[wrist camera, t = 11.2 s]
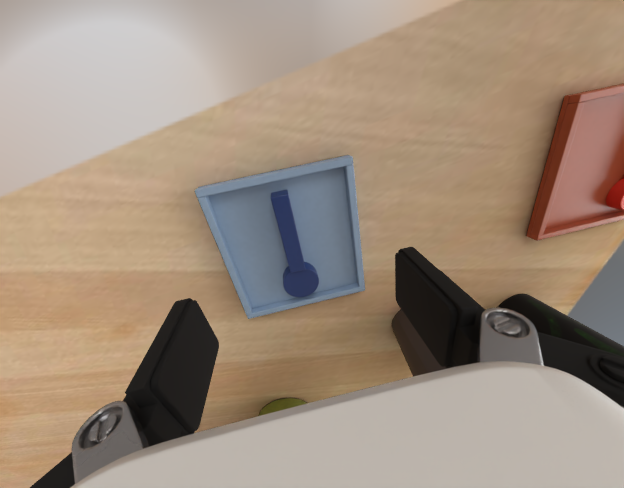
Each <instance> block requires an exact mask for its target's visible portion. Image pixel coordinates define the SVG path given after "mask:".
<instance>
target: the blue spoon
mask: <svg viewBox="0 0 624 488" xmlns="http://www.w3.org/2000/svg"><path fill="white" fill-rule="evenodd" d="M271 202H272V206H273V209H274V213H275V217H276V221H277V224H278V228H279V232H280V235H281V239H282V243H283V247H284V250H285V254H286V258H287V261H288V265H289V266H288V267H287V268H286V269H285V271H284V273H283V286H284V289H285V291H286V292H287V293H288V294H289V295H291V296H294V297H306V296H309V295H311V294H312V293H313V292H314V291H315V290H316V289H317V287H318V285H319V277H318V274H317V271H316V269H315V267H314V266H313V265H311V264H310V263H307V262H304V259H303V255H302V250H301V246H300V242H299V237H298V233H297V229H296V224H295V220H294V216H293V211H292V207H291V203H290V198H289V194H288V190H282V191H277V192H272V193H271Z"/></svg>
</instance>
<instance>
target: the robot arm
mask: <svg viewBox="0 0 624 488" xmlns="http://www.w3.org/2000/svg"><path fill="white" fill-rule="evenodd" d="M395 276H396V301H397V303H398V305H399V306H400V308H401V309H402V311H403V312H404V314H405V315H406V317H407V318H408V319H409V321H410V322H411V324H412V325H413V327H414V328H415V330H416V331H417V333H418V334H419V336H420V337H421V338H422V340H423V341H424V343H425V344H426V346H427V347H428V349H429V350H430V352H431V353H432V355H433V356H434V357H435V359H436V360H437V362H438V363H439V364H440V366H442V367H444V366H445V367H446V369H443V370H439V371H435V372H431V373H426V374H422V375H418V376H414V377H410V378H406V379H402V380H398V381H394V382H390V383H386V384H382V385H378V386H374V387H370V388H366V389H362V390H358V391H354V392H350V393H346V394H342V395H338V396H334V397H331V398H327V399H323V400H319V401H315V402H311V403H307V404H303V405H300V406H296V407H292V408H288V409H284V410H280V411H276V412H273V413H269V414H265V415H261V416H257V417H254V418H250V419H246V420H242V421H238V422H235V423H231V424H227V425H223V426H220V427H216V428H212V429H208V430H204V431H201V432H197V433H194V432H195V431H196V430H197V429H198V428H199V425H200V421H201V417H202V413H203V409H204V405H205V401H206V397H207V393H208V389H209V385H210V381H211V377H212V373H213V369H214V365H215V361H216V357H217V352H218V348H219V342H218V339H217V337H216V336H215V334H214V332H213V330H212V328H211V327H210V325H209V323H208V321H207V319H206V317H205V316H204V314H203V312H202V310H201V308H200V307H199V305H198V303H197V301H195V300H194V301H193V300H192V299H190V298H188V299H184V300H180V301H176V302H175V303H174V305H173V307H172V309H171V310H170V312H169V314H168V316H167V318H166V319H165V321H164V323H163V325H162V327H161V328H160V330H159V332H158V334H157V336H156V337H155V339H154V341H153V343H152V345H151V346H150V348H149V350H148V352H147V354H146V355H145V357H144V359H143V361H142V363H141V365H140V366H139V368H138V370H137V372H136V374H135V375H134V377H133V379H132V381H131V383H130V384H129V386H128V388H127V390H126V392H125V393H126V394H127V395H126V396H125V398H124V400H123V401H115V402H112V403H110V404H107V405H105V406H104V407H102V408H101V409H99V410H98V411H96V412H95V413H94V414H93V415H92V416H91V417H89V419H88V420H87V421H86V422H85V423H84V424H83V425H82V426H81V428H80V429H79V431H78V432H77V434H76V436H75V438H74V440H73V443H72V453H70V454H69V455H68V456H67V457H66V458H64V459H63V460H62V461H61V462H60V463H59V464H57V465H56V466H55V467H54V468H53V469H51V470H50V471H49V472H48V473H47V474H45V475H44V476H43V477H42V478H41V479H40V480H38V481H37V482H36V483H35V484H34V485H32V486H31V487H30V488H624V357H622V356H619V355H616V354H614V353H610V352H607V351H603V350H600V349H596V348H593V347H589V346H586V345H582V344H579V343H575V342H572V341H568V340H565V339H561V338H558V337H554V336H551V335H547V334H544V333H540V332H537V330H536V328H535V326H534V324H533V323H532V322H531V321H530V320H529V319H528V318H526V317H525V316H523V315H522V314H520V313H517V312H515V311H513V310H509V309H505V308H490V309H487V310H485V309H484V308H482V307H481V306H480V305H479V304H478V303H477V302H476V301H475V300H473V299H472V298H471V297H470V296H469V295H468V294H467V293H466V292H464V291H463V290H462V289H461V288H460V287H459V286H458V285H456V284H455V283H454V282H453V281H452V280H451V279H450V278H449V277H447V276H446V275H445V274H444V273H443V272H442V271H440V270H438V269H437V268H436V267H435V266H434V265H433V264H432V263H430V262H429V261H428V260H427V259H426V258H425V257H424V256H423V255H421V254H420V253H419V252H418V251H417V250H416V249H415V248H413V247H408V248H403V249H400V250H399V252H398V253H396V255H395Z"/></svg>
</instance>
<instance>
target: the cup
mask: <svg viewBox="0 0 624 488" xmlns="http://www.w3.org/2000/svg"><path fill="white" fill-rule="evenodd" d="M498 308H505V309H509V310H513V311H515V312H517V313H520V314H522V315H523V316H525V317H526V318H528V319H529V320H530V321H531V322H532V323H533V324H534V326H535V328H536V330H537V332H540V333H544V334H547V335H551V336H554V337H558V338H561V339H565V340H568V341H572V342H575V343H579V344H582V345H586V346H589V347H593V348H596V349H600V350H603V351H607V352H610V353H614V354H616V355H619V356H622V357H624V346H622V345H620V344H618V343H616V342H614V341H613V340H611V339H609V338H607V337H605V336H603V335H602V334H600V333H598V332H596V331H594V330H592V329H590V328H589V327H587V326H585V325H583V324H581V323H579V322H578V321H576V320H574V319H572V318H570V317H568V316H566V315H565V314H563V313H561V312H559V311H557V310H555V309H554V308H552V307H550V306H548V305H546V304H544V303H543V302H541V301H539V300H537V299H535V298H533V297H531V296H530V295H527V294H518V295H515V296H512V297H510V298H508V299H507V300H505V301H504V302H503V303H502V304H500V305H499V306H498Z"/></svg>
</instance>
